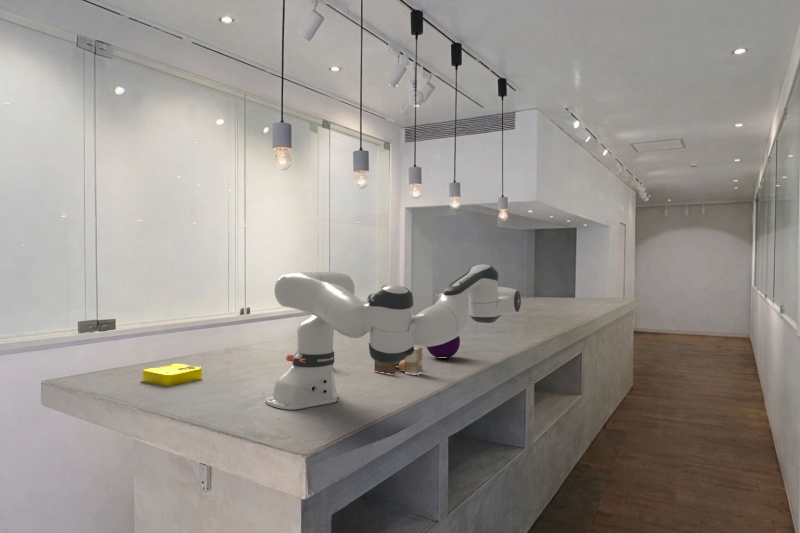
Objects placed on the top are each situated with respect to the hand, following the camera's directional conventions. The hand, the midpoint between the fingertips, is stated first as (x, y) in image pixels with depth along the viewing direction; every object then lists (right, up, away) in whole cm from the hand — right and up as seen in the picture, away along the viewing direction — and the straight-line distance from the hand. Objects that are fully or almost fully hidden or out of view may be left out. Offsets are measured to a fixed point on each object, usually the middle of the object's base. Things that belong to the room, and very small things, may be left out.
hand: (444, 296), depth 193 cm
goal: (-16, -30, +14) cm, 37 cm away
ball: (-13, -25, +14) cm, 32 cm away
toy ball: (+3, -30, +41) cm, 51 cm away
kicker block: (-11, -30, +9) cm, 33 cm away
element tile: (-96, -30, -4) cm, 100 cm away
